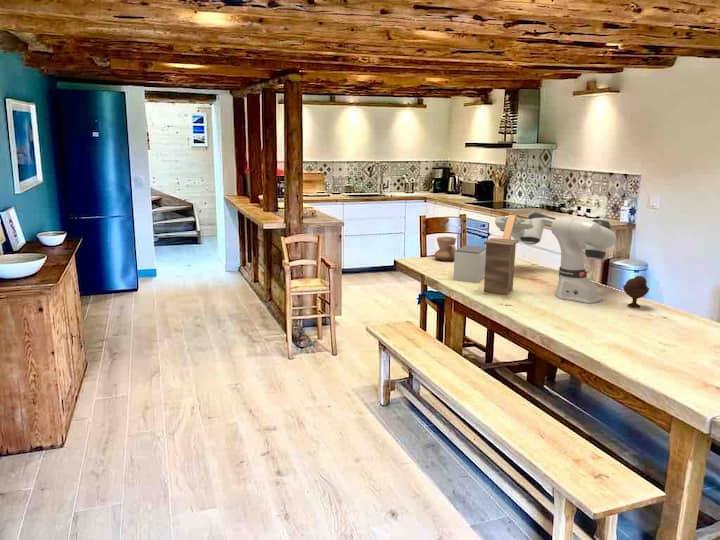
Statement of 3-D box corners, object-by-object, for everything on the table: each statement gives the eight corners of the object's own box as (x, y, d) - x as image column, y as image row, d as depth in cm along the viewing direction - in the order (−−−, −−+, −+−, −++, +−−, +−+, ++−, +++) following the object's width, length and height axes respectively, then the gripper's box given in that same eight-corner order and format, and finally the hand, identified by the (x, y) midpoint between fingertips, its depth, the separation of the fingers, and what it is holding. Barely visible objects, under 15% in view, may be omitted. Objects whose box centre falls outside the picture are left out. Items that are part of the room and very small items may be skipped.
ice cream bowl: (641, 303, 287) (645, 273, 284) (650, 310, 276) (653, 278, 273) (618, 302, 288) (621, 272, 285) (626, 309, 277) (629, 278, 274)
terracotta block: (509, 217, 336) (508, 214, 335) (516, 217, 335) (515, 215, 333) (500, 250, 326) (499, 247, 324) (507, 251, 324) (506, 248, 322)
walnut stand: (488, 286, 317) (491, 237, 311) (515, 289, 311) (518, 240, 305) (481, 292, 305) (484, 242, 299) (508, 295, 299) (512, 244, 293)
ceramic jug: (429, 258, 387) (430, 236, 383) (448, 256, 392) (449, 234, 388) (443, 264, 371) (444, 241, 367) (463, 262, 376) (464, 240, 372)
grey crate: (463, 273, 346) (464, 245, 343) (487, 275, 340) (488, 247, 336) (453, 279, 331) (454, 250, 327) (478, 282, 324) (479, 252, 321)
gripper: (533, 233, 339) (529, 224, 327) (497, 230, 348) (492, 221, 336) (534, 222, 340) (531, 213, 328) (499, 220, 350) (494, 211, 338)
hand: (511, 217), depth 332 cm, fingers closed on terracotta block, 4 cm apart
